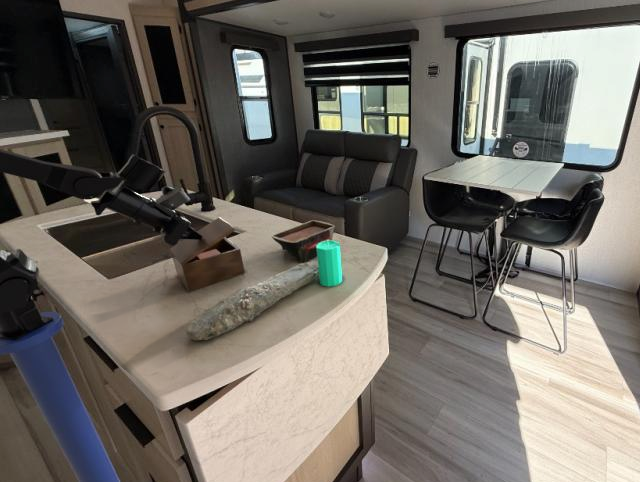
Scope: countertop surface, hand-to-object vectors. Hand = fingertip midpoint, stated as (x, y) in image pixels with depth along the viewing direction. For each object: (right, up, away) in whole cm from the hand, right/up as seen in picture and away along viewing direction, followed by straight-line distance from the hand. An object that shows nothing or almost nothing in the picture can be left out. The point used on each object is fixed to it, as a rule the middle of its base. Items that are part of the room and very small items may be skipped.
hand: (201, 237), depth 84 cm
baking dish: (+23, -5, +18) cm, 29 cm away
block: (+1, -9, +4) cm, 10 cm away
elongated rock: (+21, -15, -7) cm, 26 cm away
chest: (0, -10, +4) cm, 11 cm away
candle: (+34, -12, +1) cm, 36 cm away
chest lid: (0, -1, +1) cm, 1 cm away
